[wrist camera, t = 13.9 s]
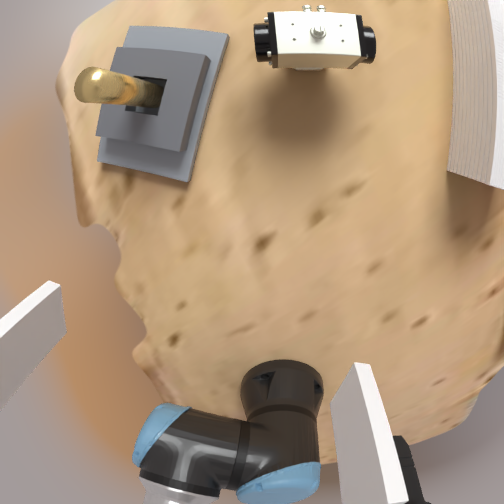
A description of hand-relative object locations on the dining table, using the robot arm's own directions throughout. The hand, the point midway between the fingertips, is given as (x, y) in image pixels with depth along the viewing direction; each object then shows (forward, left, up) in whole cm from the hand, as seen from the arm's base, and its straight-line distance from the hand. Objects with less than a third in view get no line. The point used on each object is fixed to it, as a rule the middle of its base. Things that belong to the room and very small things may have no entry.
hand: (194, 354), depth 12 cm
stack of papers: (+29, -27, -30) cm, 50 cm away
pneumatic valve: (+20, -2, -30) cm, 36 cm away
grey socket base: (+10, +15, -29) cm, 35 cm away
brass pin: (+10, +16, -28) cm, 33 cm away
